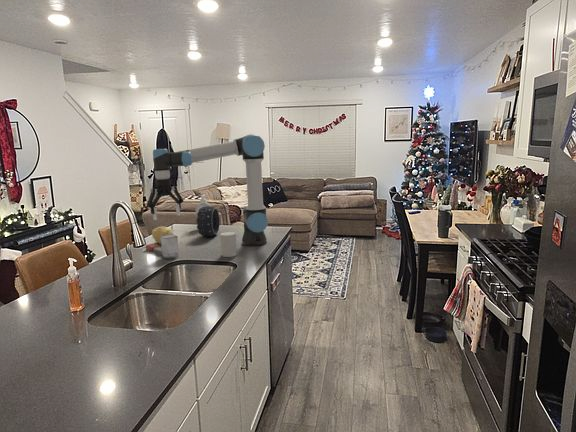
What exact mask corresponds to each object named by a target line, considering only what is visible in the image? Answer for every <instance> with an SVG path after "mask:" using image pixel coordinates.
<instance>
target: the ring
mask: <svg viewBox="0 0 576 432" xmlns="http://www.w3.org/2000/svg"><path fill="white" fill-rule="evenodd" d="M198 211H199V212H198V213H197V216H196V217H197V218H196V219H195V220H196V223H197V225H196V228H197V230H198V231H197V233H199V234H200V235H201V236H202V237H214V236H215V235H217V234H218V233H219V231H220V226H221V225H220V214H219V213H220V212H219V210H218V208H216V207H215V206H212V205H211V206H205V207H202V208H200V209H199V210H198Z"/></svg>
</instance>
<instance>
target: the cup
mask: <svg viewBox="0 0 576 432" xmlns="http://www.w3.org/2000/svg"><path fill="white" fill-rule="evenodd" d="M236 235H237V234H236V232H234V231H226V232H222V233H220V245H221V256H222V257H225V258H230V257H231V258H232V257H236V256H237V255H238V252H237V251H238V250H237V249H238V248H237V236H236Z"/></svg>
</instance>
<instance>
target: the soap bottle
mask: <svg viewBox="0 0 576 432" xmlns="http://www.w3.org/2000/svg"><path fill="white" fill-rule="evenodd" d="M200 196H201V198H200V199H199V203H198V204H196V206H195V216H196V217H197V213H198V212H199V211H198V210H199V209H200V208H202V207H205V206H212V205H211V204H210V203H209V202H207V198H206V197H205V196H206V194H201V195H200Z"/></svg>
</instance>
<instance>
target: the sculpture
mask: <svg viewBox="0 0 576 432" xmlns="http://www.w3.org/2000/svg"><path fill="white" fill-rule="evenodd" d="M170 234H173V235H174V233H173V230H172V229H171V228H170V227H168V226H163V225H162V226H160V225H159V226H158V227H156V228H153V229H152V231H151V235H152V238H153V239H154V241H155V243H157V244H158V245H161V236H165V235H170Z"/></svg>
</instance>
